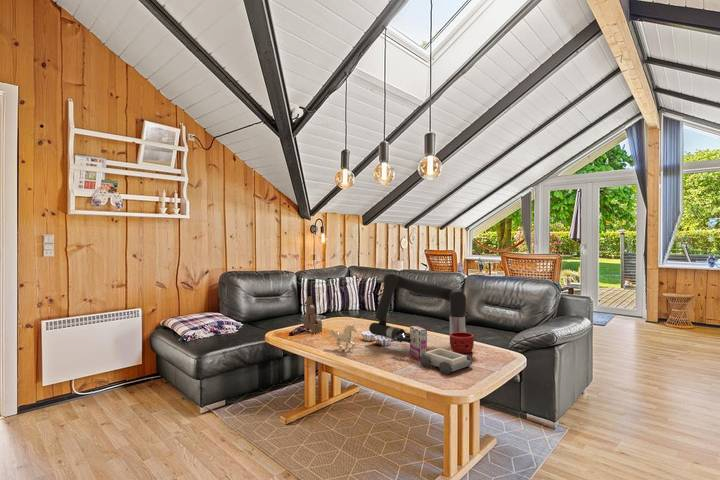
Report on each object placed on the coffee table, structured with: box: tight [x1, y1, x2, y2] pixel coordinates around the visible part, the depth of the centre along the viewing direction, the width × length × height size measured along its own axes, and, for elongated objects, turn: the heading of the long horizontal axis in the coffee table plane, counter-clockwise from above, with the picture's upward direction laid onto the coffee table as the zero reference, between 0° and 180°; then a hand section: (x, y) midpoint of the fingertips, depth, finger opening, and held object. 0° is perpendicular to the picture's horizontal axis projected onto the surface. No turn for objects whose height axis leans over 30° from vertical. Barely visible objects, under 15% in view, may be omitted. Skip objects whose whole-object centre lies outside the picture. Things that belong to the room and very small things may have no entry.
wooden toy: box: [302, 296, 323, 334], centre depth 271 cm, size 16×7×25 cm, turn 43°
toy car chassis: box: [419, 347, 473, 375], centre depth 196 cm, size 18×20×6 cm
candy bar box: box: [409, 325, 428, 362], centre depth 211 cm, size 11×5×16 cm, turn 21°
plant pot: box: [449, 332, 475, 358], centre depth 213 cm, size 13×13×12 cm
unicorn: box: [329, 323, 358, 351], centre depth 226 cm, size 20×4×17 cm, turn 57°
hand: (415, 339), depth 212 cm, fingers open, 8 cm apart
